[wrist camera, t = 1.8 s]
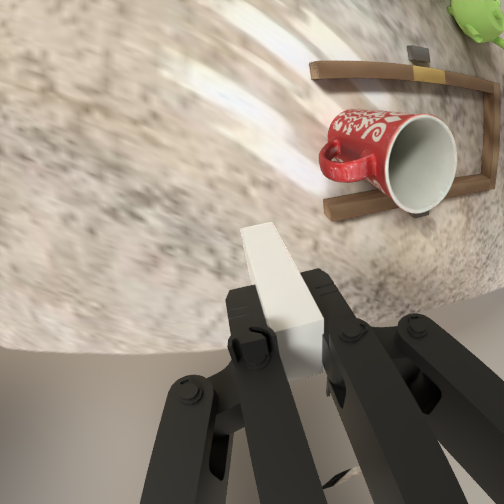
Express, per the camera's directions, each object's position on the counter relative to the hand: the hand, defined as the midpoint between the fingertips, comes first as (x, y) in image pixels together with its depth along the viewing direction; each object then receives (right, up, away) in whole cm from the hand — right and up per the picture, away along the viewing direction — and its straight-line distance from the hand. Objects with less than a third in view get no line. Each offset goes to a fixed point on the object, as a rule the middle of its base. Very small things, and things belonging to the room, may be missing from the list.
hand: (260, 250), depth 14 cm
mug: (+10, +14, +18) cm, 25 cm away
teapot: (+32, +36, +9) cm, 49 cm away
